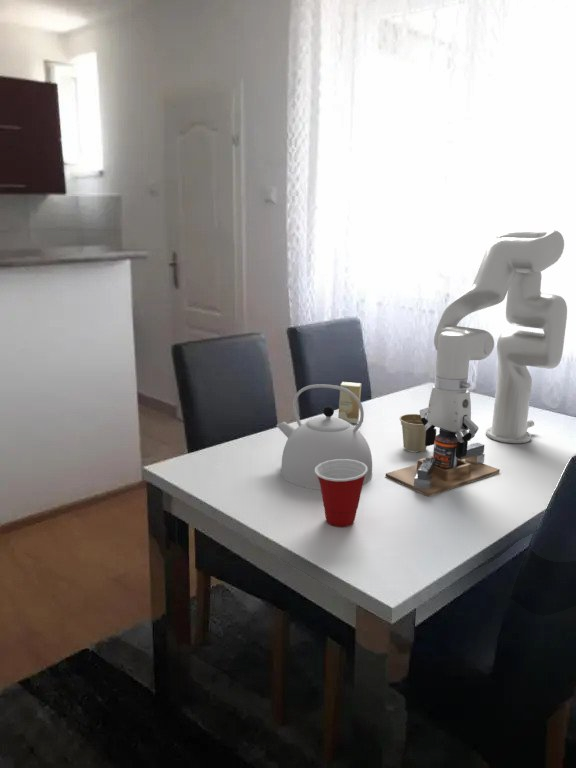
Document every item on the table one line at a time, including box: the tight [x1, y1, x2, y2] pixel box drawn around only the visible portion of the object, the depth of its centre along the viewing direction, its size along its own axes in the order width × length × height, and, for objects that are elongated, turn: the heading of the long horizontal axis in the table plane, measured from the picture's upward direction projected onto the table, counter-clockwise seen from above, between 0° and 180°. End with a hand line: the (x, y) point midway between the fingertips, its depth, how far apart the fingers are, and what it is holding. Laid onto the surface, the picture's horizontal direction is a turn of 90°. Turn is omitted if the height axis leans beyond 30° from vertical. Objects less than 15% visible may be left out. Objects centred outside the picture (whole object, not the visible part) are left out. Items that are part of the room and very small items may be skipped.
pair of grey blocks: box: [414, 442, 485, 491], centre depth 153 cm, size 28×8×5 cm, turn 126°
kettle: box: [275, 383, 373, 491], centre depth 153 cm, size 25×23×22 cm
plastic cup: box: [315, 459, 367, 528], centre depth 128 cm, size 11×11×12 cm
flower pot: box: [399, 413, 428, 453], centre depth 172 cm, size 9×9×9 cm
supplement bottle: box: [432, 428, 459, 470], centre depth 154 cm, size 6×6×11 cm
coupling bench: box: [385, 455, 501, 497], centre depth 155 cm, size 26×14×3 cm, turn 126°
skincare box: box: [337, 381, 362, 425], centre depth 195 cm, size 6×4×12 cm
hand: (445, 450), depth 154 cm, fingers open, 9 cm apart
